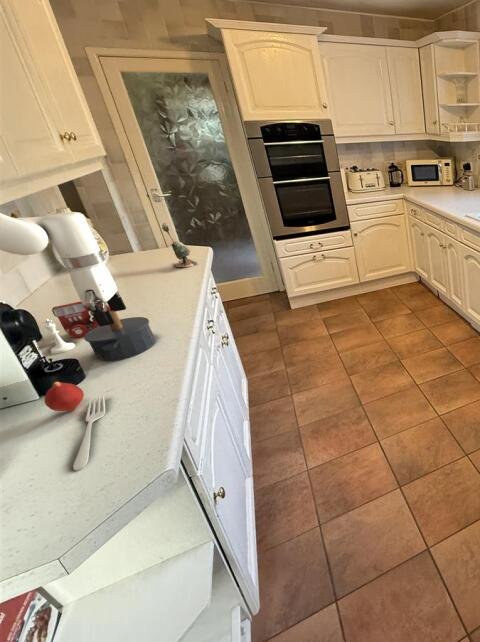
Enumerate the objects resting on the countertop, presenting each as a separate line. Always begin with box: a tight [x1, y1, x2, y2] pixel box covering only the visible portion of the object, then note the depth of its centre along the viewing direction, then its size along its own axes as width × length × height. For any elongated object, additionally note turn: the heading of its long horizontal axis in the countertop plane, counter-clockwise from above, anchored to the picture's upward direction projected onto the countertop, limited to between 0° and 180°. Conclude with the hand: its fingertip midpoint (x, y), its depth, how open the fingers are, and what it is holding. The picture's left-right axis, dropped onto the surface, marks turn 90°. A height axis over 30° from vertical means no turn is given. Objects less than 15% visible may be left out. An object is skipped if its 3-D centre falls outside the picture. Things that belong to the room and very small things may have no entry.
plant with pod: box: [161, 222, 198, 268], centre depth 175 cm, size 8×11×20 cm
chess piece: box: [42, 318, 76, 355], centre depth 113 cm, size 5×5×10 cm
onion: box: [44, 381, 85, 412], centre depth 89 cm, size 6×6×8 cm
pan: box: [88, 323, 156, 363], centre depth 113 cm, size 13×18×6 cm
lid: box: [83, 311, 150, 343], centre depth 111 cm, size 14×14×6 cm
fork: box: [72, 395, 106, 472], centre depth 83 cm, size 3×24×2 cm, turn 37°
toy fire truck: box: [51, 300, 111, 339], centre depth 123 cm, size 7×12×10 cm, turn 131°
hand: (113, 317), depth 110 cm, fingers open, 9 cm apart
